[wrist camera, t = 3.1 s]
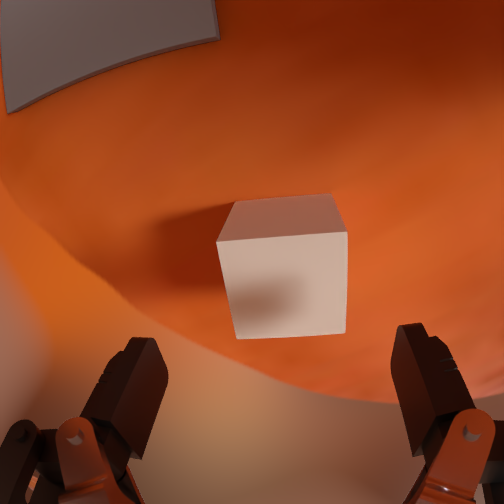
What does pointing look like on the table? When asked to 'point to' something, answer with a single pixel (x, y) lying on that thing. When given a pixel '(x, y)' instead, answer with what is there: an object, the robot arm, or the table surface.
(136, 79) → the table surface
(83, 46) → the slate mat
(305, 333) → the cream cube
